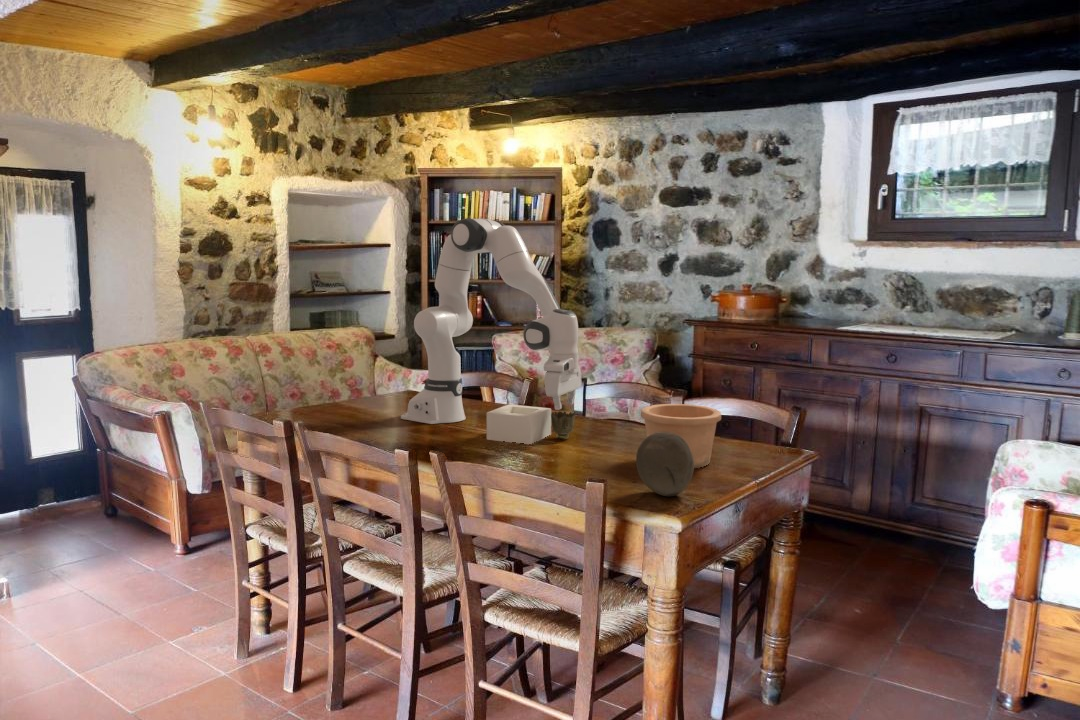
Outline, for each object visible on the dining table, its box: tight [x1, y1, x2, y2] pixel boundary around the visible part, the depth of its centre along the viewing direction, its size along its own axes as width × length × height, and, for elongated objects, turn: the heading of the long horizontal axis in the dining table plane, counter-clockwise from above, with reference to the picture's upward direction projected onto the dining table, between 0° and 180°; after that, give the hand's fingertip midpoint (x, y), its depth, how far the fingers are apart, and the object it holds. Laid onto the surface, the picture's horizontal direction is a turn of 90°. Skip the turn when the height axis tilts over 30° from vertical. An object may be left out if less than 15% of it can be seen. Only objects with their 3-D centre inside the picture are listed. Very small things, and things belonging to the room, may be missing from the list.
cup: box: [551, 410, 576, 441], centre depth 255 cm, size 8×7×8 cm
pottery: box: [640, 403, 722, 469], centre depth 228 cm, size 22×22×14 cm
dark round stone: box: [635, 433, 695, 497], centre depth 197 cm, size 14×14×15 cm
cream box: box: [486, 404, 552, 445], centre depth 257 cm, size 15×15×8 cm
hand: (564, 407), depth 254 cm, fingers open, 8 cm apart
